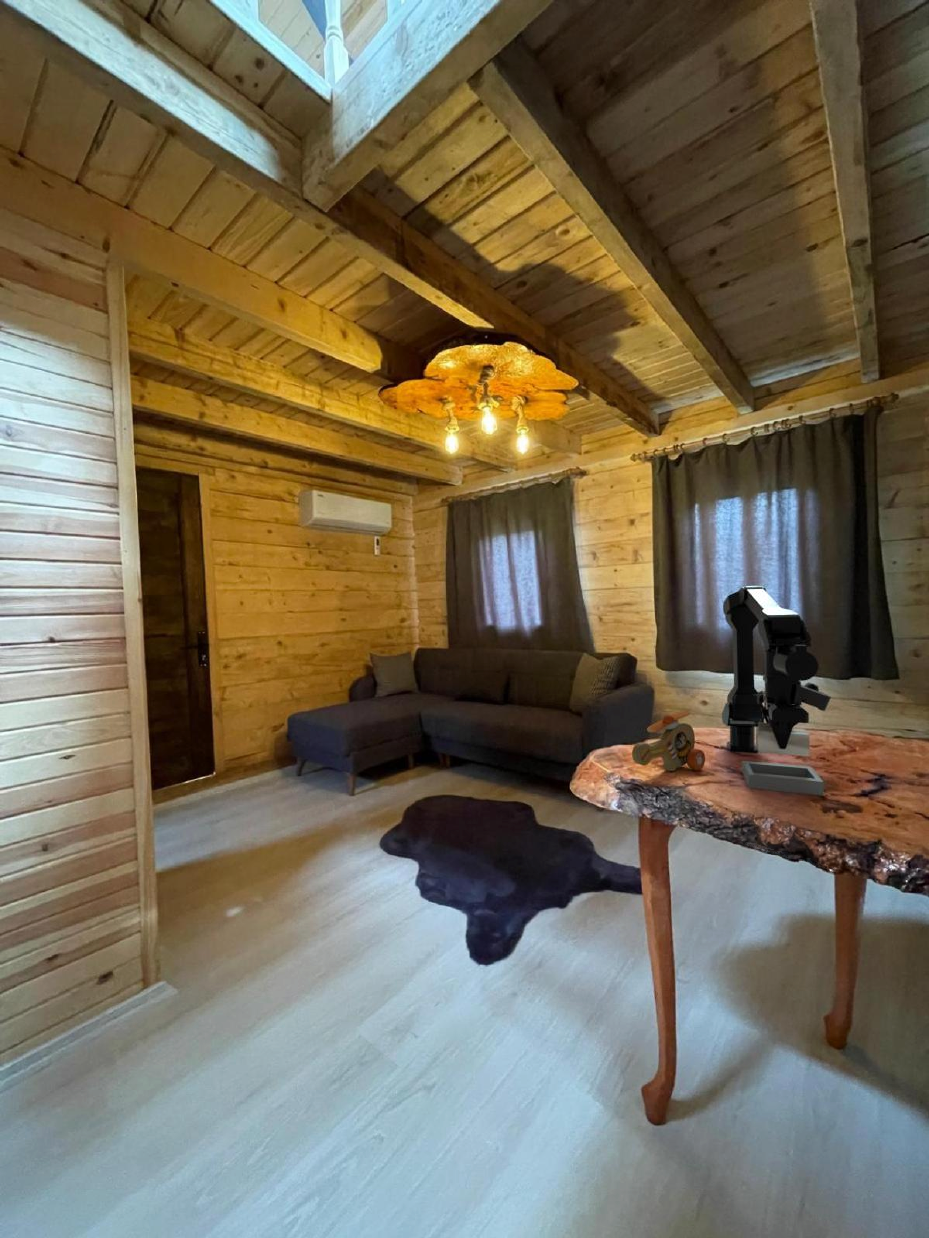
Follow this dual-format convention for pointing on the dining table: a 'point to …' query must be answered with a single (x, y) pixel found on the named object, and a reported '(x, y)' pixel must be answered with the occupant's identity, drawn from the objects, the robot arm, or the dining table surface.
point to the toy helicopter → (671, 745)
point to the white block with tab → (768, 744)
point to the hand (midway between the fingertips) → (780, 745)
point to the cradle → (782, 778)
